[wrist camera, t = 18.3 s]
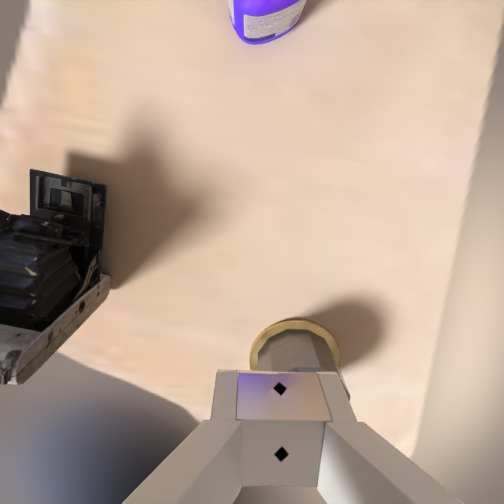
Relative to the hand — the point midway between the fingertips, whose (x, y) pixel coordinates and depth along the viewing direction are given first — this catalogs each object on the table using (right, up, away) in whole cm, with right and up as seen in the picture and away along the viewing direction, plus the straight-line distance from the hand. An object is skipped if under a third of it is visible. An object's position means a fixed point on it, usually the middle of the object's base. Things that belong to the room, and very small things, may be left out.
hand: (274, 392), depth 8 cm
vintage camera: (-23, +6, +34) cm, 41 cm away
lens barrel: (+6, -12, +40) cm, 42 cm away
